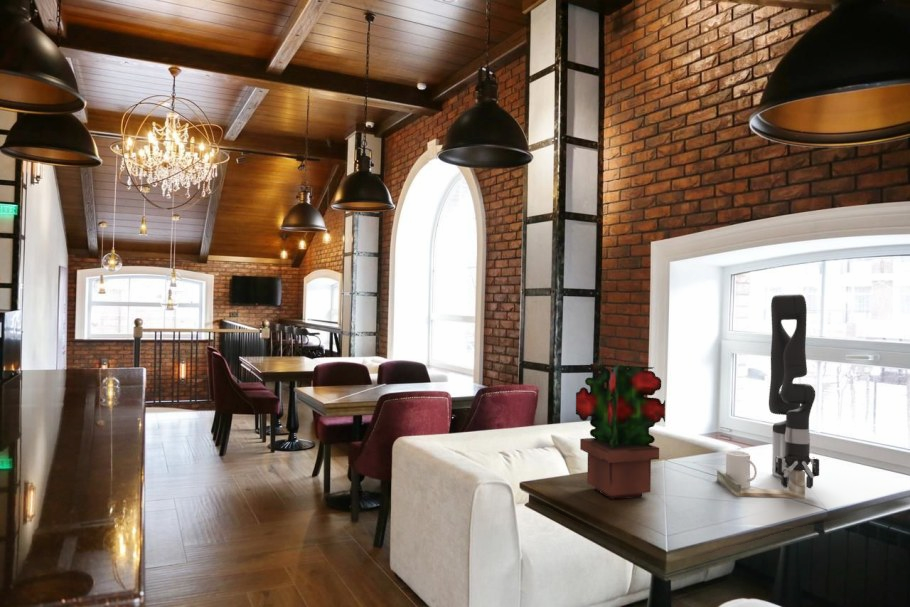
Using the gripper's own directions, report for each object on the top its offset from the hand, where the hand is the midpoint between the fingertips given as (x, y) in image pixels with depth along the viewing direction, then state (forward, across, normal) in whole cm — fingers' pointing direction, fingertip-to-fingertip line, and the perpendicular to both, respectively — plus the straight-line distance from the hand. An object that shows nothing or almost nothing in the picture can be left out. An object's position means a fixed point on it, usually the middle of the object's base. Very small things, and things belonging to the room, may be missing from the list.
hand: (796, 487), depth 216 cm
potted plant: (+3, +62, +2) cm, 62 cm away
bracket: (+3, +10, -7) cm, 13 cm away
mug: (+3, +15, -10) cm, 18 cm away
